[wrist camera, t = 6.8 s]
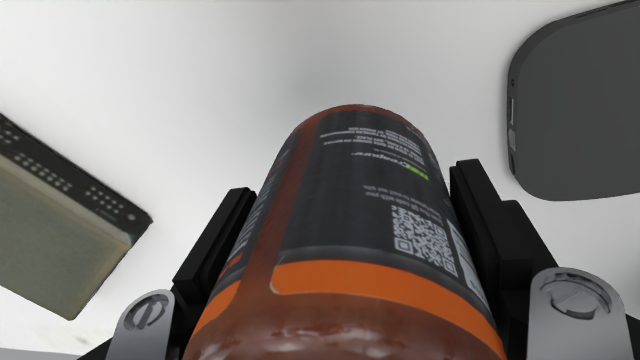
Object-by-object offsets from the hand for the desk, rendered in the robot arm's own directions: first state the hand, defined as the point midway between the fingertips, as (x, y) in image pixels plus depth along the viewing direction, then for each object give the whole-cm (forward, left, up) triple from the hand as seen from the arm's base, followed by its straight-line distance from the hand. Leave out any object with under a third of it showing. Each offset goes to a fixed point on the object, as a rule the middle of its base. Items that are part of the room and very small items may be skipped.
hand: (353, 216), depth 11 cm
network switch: (-11, +40, -20) cm, 46 cm away
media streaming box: (-6, -18, -20) cm, 28 cm away
